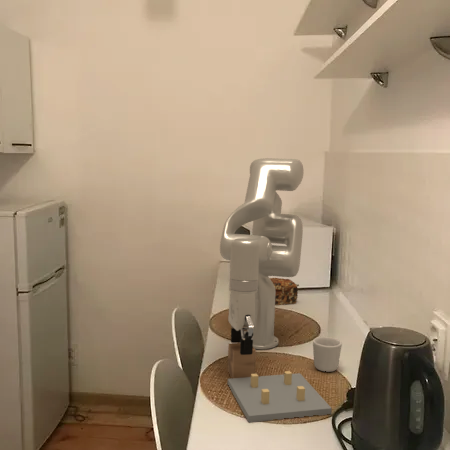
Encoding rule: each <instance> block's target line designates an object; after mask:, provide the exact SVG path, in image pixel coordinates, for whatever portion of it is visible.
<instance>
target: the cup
mask: <svg viewBox="0 0 450 450" xmlns="http://www.w3.org/2000/svg"><path fill="white" fill-rule="evenodd" d="M342 345H343V343H342V341H341V340H339V338H335V337H330V336H318V337H317V336H316V338H314V339H313V340H312V348H313V349H312V350H313V364H314V367H315V369H317V370H318V371H322V372H325V371H326V372H328V373H329V372H331V373H332V372H334V371H336V370H337V369H338V367H339V363H340V358H341V353H342V352H341V351H342Z"/></svg>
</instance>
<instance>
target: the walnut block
mask: <svg viewBox="0 0 450 450" xmlns="http://www.w3.org/2000/svg"><path fill="white" fill-rule="evenodd" d="M227 347H228V350H227V373H228V372H229V373H230V375H231V376H230V375H229V376H230V378H231V377H232V378H244V377H251V374H256V355H257V354H256V353H257V349H254V347H253V352H252V354H250V355H241V354H240V343H232V342H231V343H228V346H227ZM229 373H228V374H229Z"/></svg>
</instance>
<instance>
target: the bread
mask: <svg viewBox="0 0 450 450" xmlns="http://www.w3.org/2000/svg"><path fill="white" fill-rule="evenodd" d="M269 278H270V280H271V281H272V283H273V284H274V286H275V292H276V293H275V306H284V305H294V304H296V303H297V302H298V301H297V300H298V298H299V297H298V293H299V291H298V289H299V288H298V285H297V284H296V283H295V282H294V281H293V280H291V279H290V278H282V277H281V278H280V277H269Z"/></svg>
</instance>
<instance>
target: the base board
mask: <svg viewBox="0 0 450 450" xmlns="http://www.w3.org/2000/svg"><path fill="white" fill-rule="evenodd" d="M228 385H229V386H228ZM227 386H228V387H230V388H229V389H231V390H230V392H231V393H232V394H233V397H234V399H235V398H236V399H235V401H236V402H237V404H238V405H239V407H240V410H241V411H242V413H243V415H244V416H245V418H246V420H247V422H248V423H256V422H266V421H267V422H268V421H274V420H273V419H278V420H285V419H284V418H289V419H295V418H294V417H299V418H305V417H304V416H309V417H314V416H313V415H319V416H327V414H330V415H332V412H333V411H332V410H333V408H332V407H331V406H330V405H329V403H328V402H327V401H326V400H325V399H324V398H323V397H322V395H320V394H319V392H318V391H317V390H316V389H315V387H313V386H312V385H311V384H310V383H309V382H308V380H307V379H306V377H304V376H303V374H302V373H300V372H298V373H293V372H291V371H290V370H287V371H284V373H283V374H274V375H270V374H269V375H261V376H259V375H258V373H255V374H251V377H244V378H231V377H230V378H227Z"/></svg>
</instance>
